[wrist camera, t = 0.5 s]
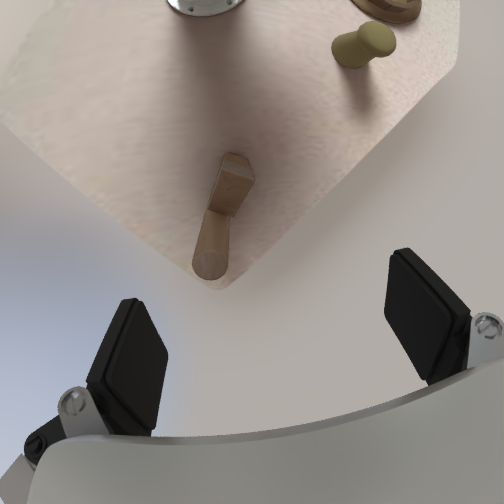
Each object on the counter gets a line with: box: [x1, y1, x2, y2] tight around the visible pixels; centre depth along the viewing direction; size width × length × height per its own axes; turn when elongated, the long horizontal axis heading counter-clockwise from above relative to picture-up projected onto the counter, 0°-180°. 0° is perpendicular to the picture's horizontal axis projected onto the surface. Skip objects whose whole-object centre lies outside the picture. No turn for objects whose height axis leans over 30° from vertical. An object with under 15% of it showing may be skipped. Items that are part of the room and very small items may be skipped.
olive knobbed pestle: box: [331, 21, 396, 69], centre depth 28 cm, size 6×6×11 cm
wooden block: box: [192, 152, 255, 280], centre depth 34 cm, size 4×11×18 cm, turn 160°
